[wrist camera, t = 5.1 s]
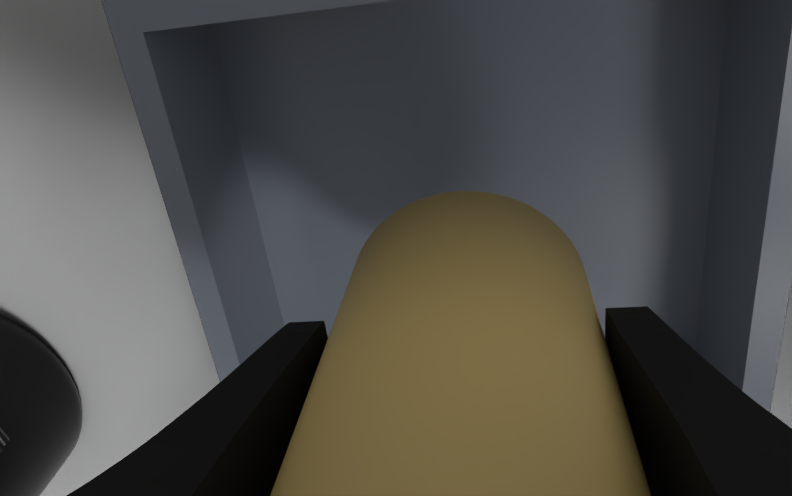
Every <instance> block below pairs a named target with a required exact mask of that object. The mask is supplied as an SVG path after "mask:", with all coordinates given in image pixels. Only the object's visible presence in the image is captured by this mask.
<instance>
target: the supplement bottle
mask: <svg viewBox="0 0 792 496" xmlns="http://www.w3.org/2000/svg"><path fill="white" fill-rule="evenodd" d="M81 427H82V407H81V401H80V397H79V394H78V391H77V388H76V385H75V383H74V381H73V379H72V377H71V375H70V374H69V372H68V371H67V369H66V367H65V366H64V365H63V363H62V362H61V361H60V359H59V358H58V357H57V356H56V355H55V354H54V352H53V351H52V350H51V349H50V348H49V347H48V346H46V345H45V344H44V343H43V342H42V341H41V340H40V339H38V338H37V337H36V336H34V335H33V334H32V333H30V332H29V331H27V330H26V329H24V328H23V327H21V326H19V325H17V324H16V323H14V322H12V321H10V320H8V319H6V318H4V317H1V316H0V496H40V494H41V493H42V492H43V491H44V489H45V488H46V487H47V485H48V484H49V483H50V481H51V480H52V479H53V477H54V476H55V474H56V473H57V472H58V470H59V469H60V468H61V466H62V465H63V464H64V462H65V461H66V459H67V458H68V457H69V455H70V454H71V452H72V450H73V449H74V447H75V445H76V443H77V441H78V438H79V435H80V432H81Z"/></svg>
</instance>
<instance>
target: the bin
mask: <svg viewBox="0 0 792 496" xmlns="http://www.w3.org/2000/svg"><path fill="white" fill-rule="evenodd" d="M102 5H103V8H104V11H105V14H106V17H107V21H108V24H109V27H110V30H111V33H112V37H113V40H114V43H115V46H116V49H117V53H118V56H119V59H120V62H121V65H122V69H123V72H124V75H125V78H126V82H127V85H128V88H129V91H130V94H131V98H132V101H133V104H134V107H135V110H136V114H137V117H138V120H139V123H140V126H141V130H142V133H143V136H144V139H145V142H146V146H147V149H148V152H149V155H150V158H151V162H152V165H153V168H154V171H155V174H156V178H157V181H158V184H159V187H160V190H161V194H162V197H163V200H164V203H165V206H166V210H167V213H168V216H169V219H170V222H171V226H172V229H173V232H174V235H175V239H176V242H177V245H178V248H179V251H180V255H181V258H182V261H183V264H184V267H185V271H186V274H187V277H188V280H189V283H190V287H191V290H192V293H193V296H194V299H195V303H196V306H197V309H198V312H199V315H200V319H201V322H202V325H203V328H204V331H205V335H206V338H207V341H208V344H209V347H210V351H211V354H212V357H213V360H214V363H215V367H216V370H217V373H218V376H219V379H220V382H221V381H222V380H223V379H224V378H226V377H227V376H228V375H229V374H230V373H231V372H232V371H234V370H235V369H236V368H237V367H238V366H239V365H240V364H242V363H243V362H244V361H245V360H246V359H247V358H248V357H249V356H250V355H252V354H253V353H254V352H255V351H256V350H257V349H258V348H259V347H260V346H262V345H263V344H264V343H265V342H266V341H267V340H268V339H269V338H271V337H272V336H273V335H274V334H275V333H276V332H278V331H279V330H280V329H281V328H282V327H284V326H285V325H286V324H288V323H289V322H307V321H324V322H325V327H326V331H327V336H328V337H329V335H330V332H331V329H332V326H333V324H334V321H335V318H336V316H337V313H338V310H339V307H340V305H341V302H342V299H343V297H344V294H345V291H346V288H347V286H348V283H349V280H350V278H351V275H352V272H353V269H354V267H355V264H356V261H357V259H358V256H359V253H360V251H361V250H362V248H363V246H364V244H365V242H366V241H367V239H368V238H369V237H370V235H371V234H372V233H373V231H374V230H375V229H376V228H377V227H378V226H379V225H380V224H381V223H382V222H383V221H384V220H385V219H387V218H388V217H389V216H391V215H392V214H393V213H395V212H396V211H397V210H399V209H401V208H403V207H405V206H406V205H408V204H410V203H412V202H415V201H417V200H420V199H422V198H425V197H428V196H432V195H436V194H440V193H446V192H454V191H480V192H489V193H495V194H499V195H503V196H507V197H510V198H513V199H515V200H518V201H521V202H523V203H525V204H527V205H529V206H531V207H533V208H535V209H537V210H538V211H540V212H541V213H542V214H544V215H545V216H547V217H548V218H550V219H551V220H552V221H553V222H554V223H555V224H556V225H557V226H558V227H559V228H561V229H562V231H563V232H564V233H565V234H566V235H567V237H568V238H569V239H570V240H571V242H572V243H573V245H574V247H575V249H576V250H577V252H578V254H579V256H580V258H581V261H582V263H583V266H584V269H585V272H586V275H587V279H588V282H589V286H590V289H591V292H592V296H593V299H594V303H595V306H596V309H597V313H598V316H599V320H600V323H601V326H602V330H603V333H604V337H605V308H620V307H642V306H648V307H649V308H650V309H651V310H652V311H653V312H654V313H655V314H656V315H658V316H659V317H660V318H661V319H662V320H663V321H664V322H665V323H666V324H667V325H668V326H669V327H671V328H672V329H673V330H674V331H675V332H676V333H677V334H678V335H679V336H680V337H681V338H682V339H683V340H685V341H686V342H687V343H688V344H689V345H690V346H691V347H692V348H693V349H694V350H695V351H697V352H698V353H699V354H700V355H701V356H702V357H703V358H704V359H705V360H707V361H708V362H709V363H710V364H711V365H712V366H713V367H715V368H716V369H717V370H718V371H719V372H720V373H722V374H723V375H724V376H725V377H726V378H727V379H729V380H730V381H731V382H732V383H733V384H735V385H736V386H737V387H738V388H739V389H741V390H742V391H743V392H744V393H745V394H747V395H748V396H749V397H750V398H752V399H753V400H754V401H755V402H757V403H758V404H759V405H761V406H762V407H763V408H765V409H766V410H767V411H769V412H770V409H771V403H772V396H773V390H774V384H775V378H776V372H777V366H778V360H779V354H780V347H781V341H782V335H783V329H784V323H785V317H786V311H787V304H788V298H789V292H790V286H791V280H792V0H104V1H102Z"/></svg>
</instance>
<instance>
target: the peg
mask: <svg viewBox="0 0 792 496" xmlns="http://www.w3.org/2000/svg"><path fill="white" fill-rule="evenodd" d="M270 496H651V493H650V490H649V486H648V483H647V479H646V476H645V473H644V469H643V466H642V462H641V459H640V456H639V452H638V449H637V445H636V442H635V439H634V435H633V432H632V428H631V425H630V422H629V418H628V415H627V411H626V408H625V405H624V401H623V398H622V394H621V391H620V388H619V384H618V381H617V377H616V374H615V371H614V367H613V364H612V360H611V357H610V354H609V350H608V347H607V343H606V340H605V337H604V333H603V330H602V326H601V323H600V320H599V316H598V313H597V309H596V306H595V303H594V299H593V296H592V292H591V289H590V286H589V282H588V279H587V275H586V272H585V269H584V266H583V263H582V261H581V258H580V256H579V254H578V252H577V250H576V249H575V247H574V245H573V243H572V242H571V240H570V239H569V238H568V237H567V235H566V234H565V233H564V232H563V231H562V229H561V228H559V227H558V226H557V225H556V224H555V223H554V222H553V221H552V220H551V219H550V218H548V217H547V216H545V215H544V214H542V213H541V212H540V211H538V210H537V209H535V208H533V207H531V206H529V205H527V204H525V203H523V202H521V201H518V200H515V199H513V198H510V197H507V196H503V195H499V194H495V193H489V192H480V191H454V192H446V193H440V194H436V195H432V196H428V197H425V198H422V199H420V200H417V201H415V202H412V203H410V204H408V205H406V206H405V207H403V208H401V209H399V210H397V211H396V212H395V213H393V214H392V215H391V216H389V217H388V218H387V219H385V220H384V221H383V222H382V223H381V224H380V225H379V226H378V227H377V228H376V229H375V230H374V231H373V233H372V234H371V235H370V237H369V238H368V239H367V241H366V242H365V244H364V246H363V248H362V250H361V251H360V253H359V256H358V259H357V261H356V264H355V267H354V269H353V272H352V275H351V278H350V280H349V283H348V286H347V288H346V291H345V294H344V297H343V299H342V302H341V305H340V307H339V310H338V313H337V316H336V318H335V321H334V324H333V326H332V329H331V332H330V335H329V337H328V340H327V343H326V345H325V348H324V351H323V354H322V356H321V359H320V362H319V364H318V367H317V370H316V373H315V375H314V378H313V381H312V383H311V386H310V389H309V392H308V394H307V397H306V400H305V402H304V405H303V408H302V411H301V413H300V416H299V419H298V421H297V424H296V427H295V430H294V432H293V435H292V438H291V440H290V443H289V446H288V449H287V451H286V454H285V457H284V459H283V462H282V465H281V468H280V470H279V473H278V476H277V478H276V481H275V484H274V487H273V489H272V492H271V495H270Z"/></svg>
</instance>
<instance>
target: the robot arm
mask: <svg viewBox="0 0 792 496" xmlns="http://www.w3.org/2000/svg"><path fill="white" fill-rule="evenodd" d="M327 340H328V336H327V331H326V327H325V322H324V321H307V322H289V323H288V324H286V325H285V326H284V327H282V328H281V329H280V330H279V331H278V332H276V333H275V334H274V335H273V336H272V337H271V338H269V339H268V340H267V341H266V342H265V343H264V344H263V345H262V346H260V347H259V348H258V349H257V350H256V351H255V352H254V353H253V354H252V355H250V356H249V357H248V358H247V359H246V360H245V361H244V362H243V363H242V364H240V365H239V366H238V367H237V368H236V369H235V370H234V371H232V372H231V373H230V374H229V375H228V376H227V377H226V378H224V379H223V380H222V381H221V382H220V383H219V384H218V385H216V386H215V387H214V388H213V389H212V390H211V391H210V392H208V393H207V394H206V395H205V396H204V397H202V398H201V399H200V400H199V401H197V402H196V403H195V404H194V405H193V406H191V407H190V408H189V409H188V410H186V411H185V412H184V413H183V414H181V415H180V416H179V417H178V418H176V419H175V420H174V421H173V422H171V423H170V424H169V425H168V426H166V427H165V428H164V429H163V430H161V431H160V432H159V433H158V434H156V435H155V436H154V437H152V438H151V439H150V440H148V441H147V442H146V443H144V444H143V445H142V446H140V447H139V448H138V449H136V450H135V451H133V452H132V453H131V454H129V455H128V456H126V457H125V458H124V459H122V460H121V461H119V462H118V463H116V464H115V465H113V466H112V467H110V468H109V469H107V470H106V471H104V472H103V473H101V474H100V475H98V476H97V477H95V478H94V479H92V480H91V481H89V482H88V483H86V484H85V485H83V486H82V487H80V488H78V489H77V490H75V491H73V492H72V493H70V494H68V495H67V496H270V495H271V492H272V489H273V487H274V484H275V481H276V478H277V476H278V473H279V470H280V468H281V465H282V462H283V459H284V457H285V454H286V451H287V449H288V446H289V443H290V440H291V438H292V435H293V432H294V430H295V427H296V424H297V421H298V419H299V416H300V413H301V411H302V408H303V405H304V402H305V400H306V397H307V394H308V392H309V389H310V386H311V383H312V381H313V378H314V375H315V373H316V370H317V367H318V364H319V362H320V359H321V356H322V354H323V351H324V348H325V345H326V343H327ZM605 340H606V343H607V347H608V350H609V354H610V357H611V360H612V364H613V367H614V371H615V374H616V377H617V381H618V384H619V388H620V391H621V394H622V398H623V401H624V405H625V408H626V411H627V415H628V418H629V422H630V425H631V428H632V432H633V435H634V439H635V442H636V445H637V449H638V452H639V456H640V459H641V462H642V466H643V469H644V473H645V476H646V479H647V483H648V486H649V490H650V493H651V496H792V429H791V428H790V427H789V426H787V425H786V424H785V423H783V422H782V421H781V420H779V419H778V418H777V417H775V416H774V415H773V414H771V413H770V412H769V411H767V410H766V409H765V408H763V407H762V406H761V405H759V404H758V403H757V402H755V401H754V400H753V399H752V398H750V397H749V396H748V395H747V394H745V393H744V392H743V391H742V390H741V389H739V388H738V387H737V386H736V385H735V384H733V383H732V382H731V381H730V380H729V379H727V378H726V377H725V376H724V375H723V374H722V373H720V372H719V371H718V370H717V369H716V368H715V367H713V366H712V365H711V364H710V363H709V362H708V361H707V360H705V359H704V358H703V357H702V356H701V355H700V354H699V353H698V352H697V351H695V350H694V349H693V348H692V347H691V346H690V345H689V344H688V343H687V342H686V341H685V340H683V339H682V338H681V337H680V336H679V335H678V334H677V333H676V332H675V331H674V330H673V329H672V328H671V327H669V326H668V325H667V324H666V323H665V322H664V321H663V320H662V319H661V318H660V317H659V316H658V315H656V314H655V313H654V312H653V311H652V310H651V309H650V308H649V307H648V306H642V307H620V308H605Z"/></svg>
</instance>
